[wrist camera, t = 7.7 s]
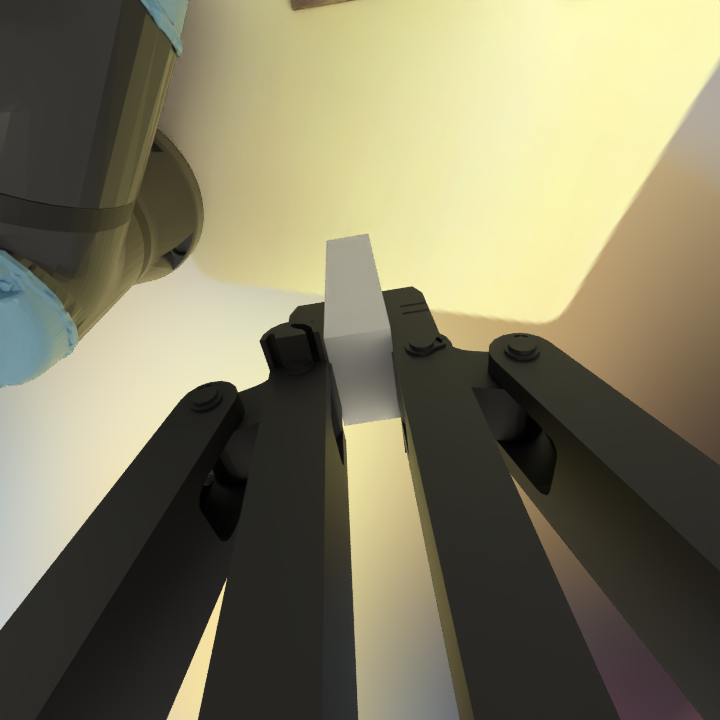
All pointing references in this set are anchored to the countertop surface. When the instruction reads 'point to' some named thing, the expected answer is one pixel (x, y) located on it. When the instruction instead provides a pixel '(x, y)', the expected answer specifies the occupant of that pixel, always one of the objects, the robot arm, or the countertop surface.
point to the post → (313, 3)
